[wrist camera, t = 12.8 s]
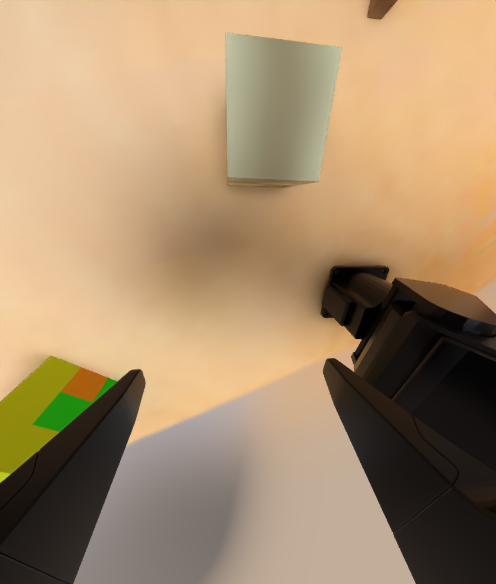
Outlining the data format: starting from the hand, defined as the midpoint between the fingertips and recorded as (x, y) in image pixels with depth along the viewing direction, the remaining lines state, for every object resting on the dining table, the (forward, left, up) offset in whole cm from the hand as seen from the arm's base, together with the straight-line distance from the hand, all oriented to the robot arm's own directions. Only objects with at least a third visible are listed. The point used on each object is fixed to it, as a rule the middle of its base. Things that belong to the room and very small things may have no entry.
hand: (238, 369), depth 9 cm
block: (-2, -11, -12) cm, 16 cm away
